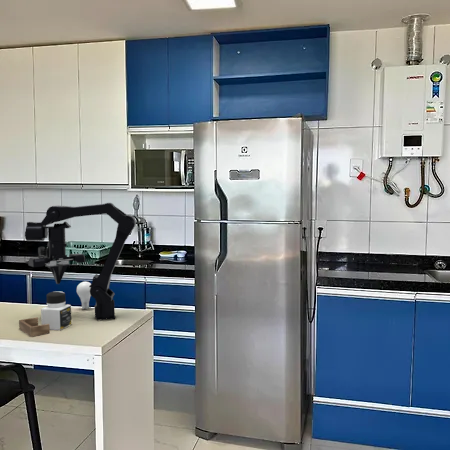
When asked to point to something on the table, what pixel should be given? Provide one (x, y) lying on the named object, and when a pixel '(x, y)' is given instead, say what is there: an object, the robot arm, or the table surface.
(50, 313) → the medicine bottle
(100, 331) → the table surface
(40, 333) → the corral
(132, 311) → the table surface
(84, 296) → the lightbulb
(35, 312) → the table surface
